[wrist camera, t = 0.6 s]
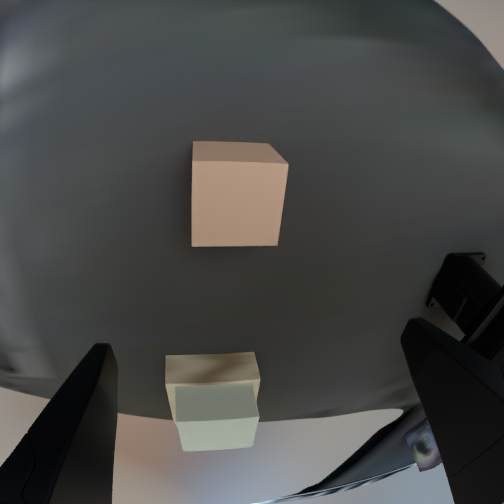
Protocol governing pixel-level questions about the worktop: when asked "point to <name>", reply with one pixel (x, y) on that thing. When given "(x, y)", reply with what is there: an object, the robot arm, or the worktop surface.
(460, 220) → the worktop surface
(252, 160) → the terracotta cube
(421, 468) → the small box
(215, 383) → the tower base
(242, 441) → the tower top
